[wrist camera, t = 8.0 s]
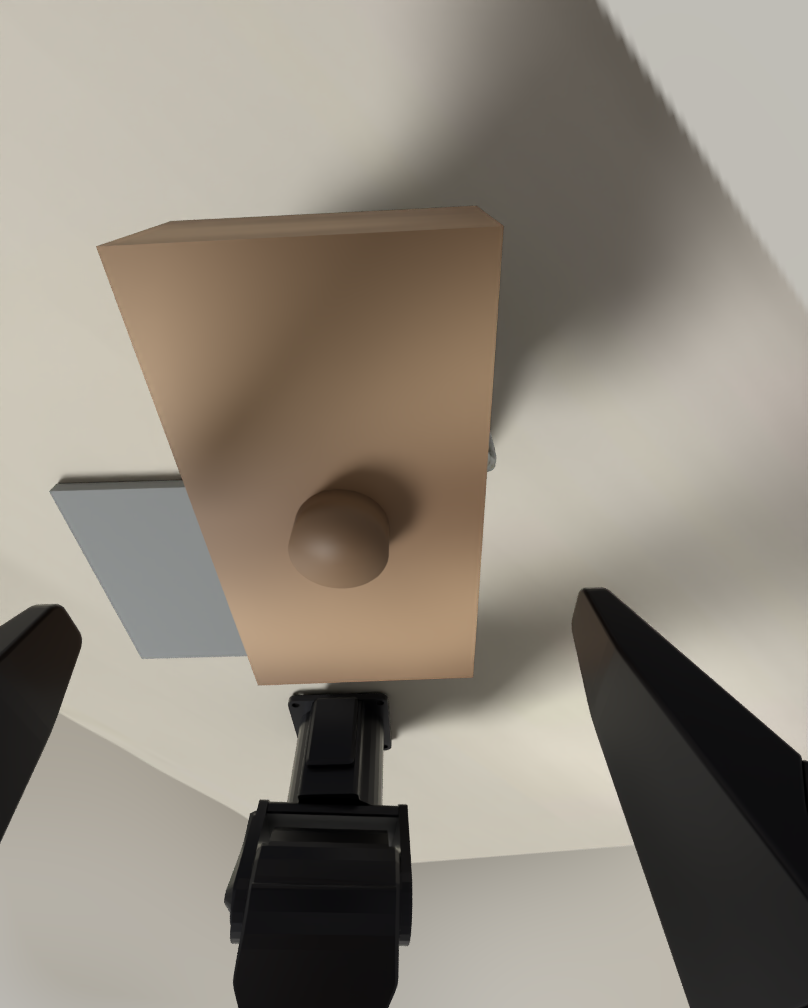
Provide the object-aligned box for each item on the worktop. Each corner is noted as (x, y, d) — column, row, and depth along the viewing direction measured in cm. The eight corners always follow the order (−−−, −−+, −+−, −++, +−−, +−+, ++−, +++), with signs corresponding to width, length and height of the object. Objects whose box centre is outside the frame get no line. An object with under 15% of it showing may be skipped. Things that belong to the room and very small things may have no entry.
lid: (461, 597, 16) (476, 703, 13) (279, 604, 16) (251, 712, 13) (476, 205, 10) (513, 234, 7) (171, 221, 10) (66, 256, 7)
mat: (346, 645, 29) (345, 653, 29) (145, 650, 29) (141, 658, 29) (320, 475, 22) (319, 483, 22) (56, 483, 22) (49, 491, 22)
